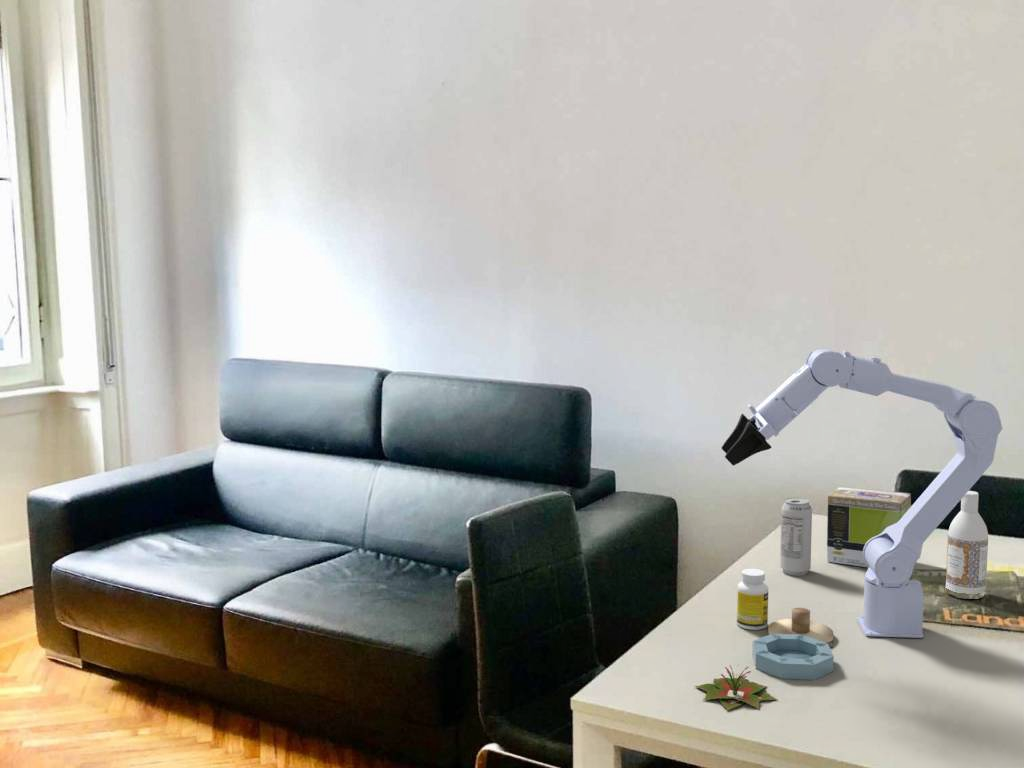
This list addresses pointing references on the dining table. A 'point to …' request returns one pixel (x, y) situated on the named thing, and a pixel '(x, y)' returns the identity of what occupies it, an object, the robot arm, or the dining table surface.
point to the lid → (802, 626)
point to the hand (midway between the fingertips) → (727, 456)
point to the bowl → (792, 656)
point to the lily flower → (735, 690)
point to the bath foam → (967, 549)
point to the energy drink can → (796, 536)
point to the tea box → (860, 520)
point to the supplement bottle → (752, 600)
